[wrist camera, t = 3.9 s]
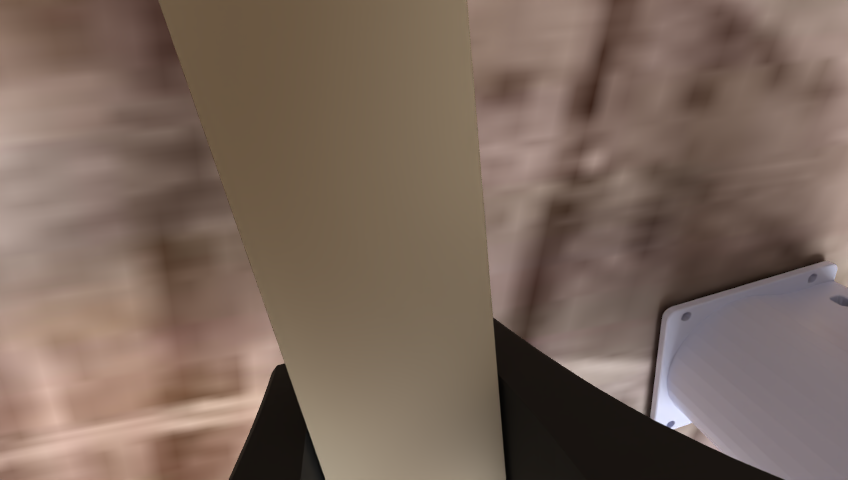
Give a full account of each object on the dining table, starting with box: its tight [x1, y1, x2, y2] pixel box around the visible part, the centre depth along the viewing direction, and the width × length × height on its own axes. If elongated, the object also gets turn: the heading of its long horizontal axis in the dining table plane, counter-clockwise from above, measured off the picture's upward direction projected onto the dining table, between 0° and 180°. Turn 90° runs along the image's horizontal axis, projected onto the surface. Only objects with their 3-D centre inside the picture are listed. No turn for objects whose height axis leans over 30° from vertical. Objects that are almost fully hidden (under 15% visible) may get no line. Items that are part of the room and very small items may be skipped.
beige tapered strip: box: [158, 0, 506, 480], centre depth 9 cm, size 2×16×4 cm, turn 8°
